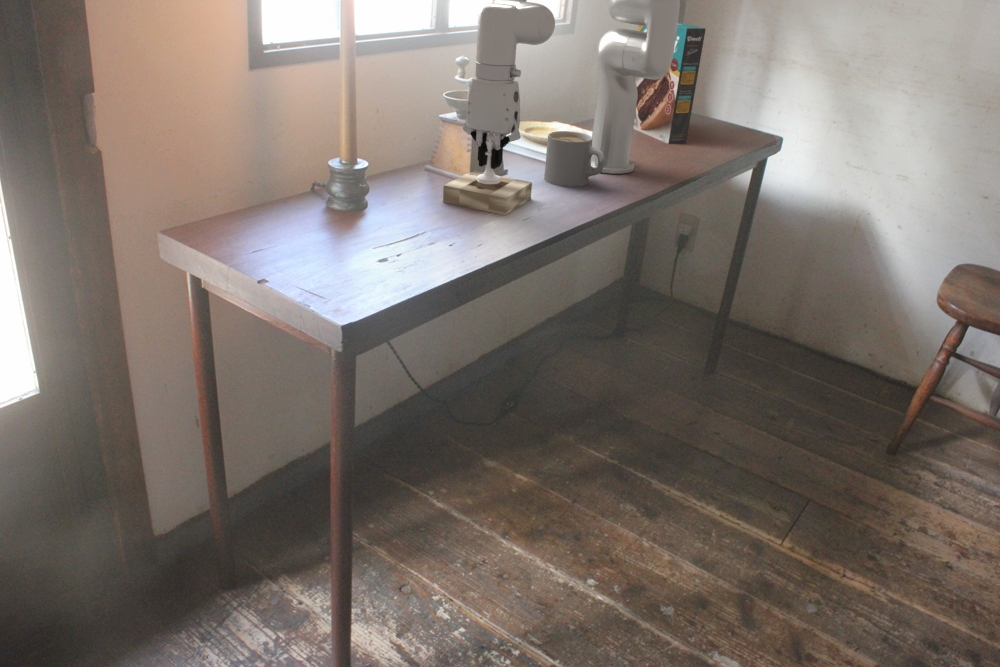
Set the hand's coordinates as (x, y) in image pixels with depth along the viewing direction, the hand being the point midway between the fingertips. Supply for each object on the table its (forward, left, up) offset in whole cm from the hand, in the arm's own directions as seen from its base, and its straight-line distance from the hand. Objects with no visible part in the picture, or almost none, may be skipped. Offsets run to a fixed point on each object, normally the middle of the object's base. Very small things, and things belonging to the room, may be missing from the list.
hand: (489, 165), depth 161 cm
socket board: (0, 0, -7) cm, 7 cm away
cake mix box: (-84, +13, -8) cm, 85 cm away
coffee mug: (-24, +10, -8) cm, 27 cm away
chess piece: (0, 0, -3) cm, 3 cm away
